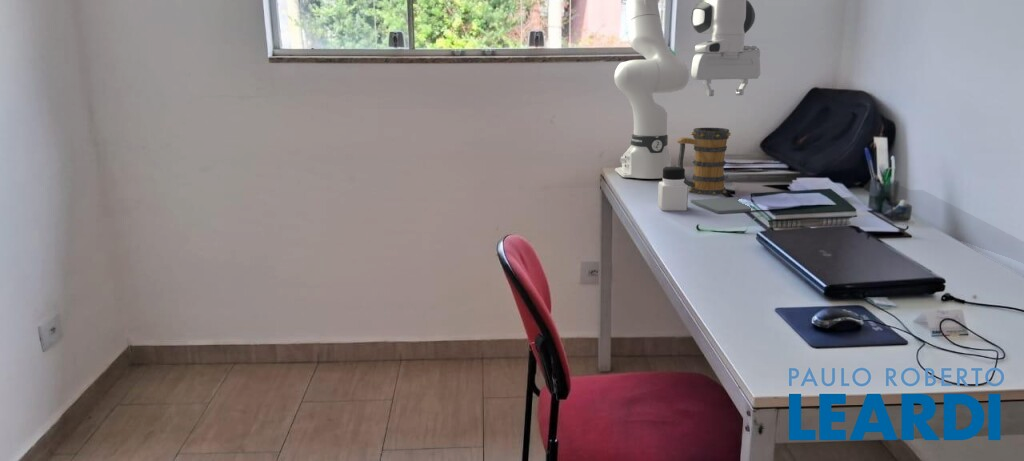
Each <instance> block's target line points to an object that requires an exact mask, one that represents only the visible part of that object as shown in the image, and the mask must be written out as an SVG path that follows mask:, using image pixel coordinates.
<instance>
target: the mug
mask: <svg viewBox="0 0 1024 461" xmlns="http://www.w3.org/2000/svg"><path fill="white" fill-rule="evenodd" d="M690 135H691V136H692V137H685V136H684V137H683V136H682V137H680V138H679V139H677V140H676V142H677V144H680V145H679V146H680V147H679V154H678V159H677V160H678V162H677V166H680V167H683V168H684V158H685V157H684V156H685V150H686V144H688V145H693V150H694V154H695V155H694V156H695V157H694V160H693V161H692V164H693V165H694V172H693V175H692V181H691V180H690V181H689V180H687V177H686V176H685V177H684V183H685V184H686V185H687V186H688V187H689V189H688V193H689V192H690V193H694V194H697V195H712V196H713V195H714V196H715V195H720V194H722V195H724V194H727V193H726V192H727V190H726V189H727V188H726V187H725V181H726V176H725V174H724V172H725V171H724V170H725V167H724V166H726V165H727V162H726V160H725V157H726V156H725V155H726V154H725V153H726V152H727V148H728V146H727V141H728V139H729V137H730V136H731V135H732V133H731V132H730V129H728V128H723V127H722V128H721V127H697V128H693V131H692V133H690Z"/></svg>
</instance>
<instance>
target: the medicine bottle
mask: <svg viewBox="0 0 1024 461" xmlns="http://www.w3.org/2000/svg"><path fill="white" fill-rule="evenodd" d="M685 173H686V170H685V168H684V166H683V167H680V166H678V165H671V166H667V167H664V168H663V178H662V181H659V182H658V186H657V187H658V188H657V189H658V190H657V192H658V193H657V206H658V208H660V210H661V211H663V212H665V211H666V212H669V211H671V212H673V211H674V212H675V211H679V212H680V211H681V212H683V211H685V212H686V211H688V198H689V196H688V195H689V186H687V185H686V184H685V183H684V177H685V178H686V174H685Z"/></svg>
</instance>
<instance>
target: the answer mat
mask: <svg viewBox="0 0 1024 461" xmlns="http://www.w3.org/2000/svg"><path fill="white" fill-rule="evenodd" d="M741 198H742V197H741V196H734V197H718V198H717V197H716V198H703V199H702V198H701V199H690V204H693V205H695V206H697V207H699V208H702V209H705V210H707V211H709V212H712V213H715V214H717V215H718V214H719V215H721V214H722V215H723V214H734V213H737V214H738V213H750V212H752V211H751V208H750V207H749V206H747V205H745V204H742V203H740V202H739V201H738V200H739V199H741Z"/></svg>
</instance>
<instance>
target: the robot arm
mask: <svg viewBox="0 0 1024 461" xmlns="http://www.w3.org/2000/svg"><path fill="white" fill-rule="evenodd" d="M659 1H660V0H626V24H627V29H628V39H629V44H630V46H631V49H633V50H634V51H635V52H637V53H638V54H640V55H642V56H643V57H644V58H645V59H631V60H626V61H623V62H620V63H619V64H618V65H617V67H616V69H615V70H614V74H613V78H614V84H615V86H616V88H617V89H618V90H619V91H620V92H621V93H622V94H623V95H624V96H625V97H626V98H627V100H628V101H629V103H630V105H631V108H632V114H633V115H632V116H633V117H632V118H633V134H632V135H631V138H630V146H629V147H628V148H627V150H626V151H625V152H624V153H623V154H622V156H620V158H619V162H620V163H621V166H620V167H615V170H614V171H615V172H616V173H618V175H620V176H621V177H623V178H633V179H634V178H635V179H649V180H651V179H652V180H654V179H663V168H664V167H667V166H672V159H671V150H670V149H668V147H667V146H668V141H669V137H668V134H667V132H668V131H667V129H668V112H667V111H666V109H665V108H664V107H663V106H662V105H659V104H658V103H656V102H655V101H654V97H653V94H659V93H661V94H662V93H663V94H664V93H673V92H677V91H681V90H684V89H685V87H687V85H688V82H689V81H690V75H691V78H692V79H693V80H696V81H702V85H703V86H704V88H705V90H706V91H705V94H706V95H705V96H706V97H713V96H714V95H715V94H714V93H715V90H714V89H712V86H711V85H710V84H712V81H713V80H714V81H715V80H739V83H740V85H739V86H738V88H736V89H735V95H736V96H743V95H744V91H745V89H746V86H747V85H748V84H749V80H752V79H753V80H754V79H755V80H756V79H759V77H760V76H761V50H760V48H759V47H757V45H745V38H746V37H745V34H746V33H747V32H748V31H749V30H750V29H751V28H752V27H753V25H754V23H755V20H756V13H755V9H754V6H753V5H752V3H751V2H750V1H749V0H700V1H699V2H698V3H697V4H696V5H695V6H694V7H693V9H692V12H691V25H692V27H693V29H694V30H695V32H697V33H698V34H703V35H711V39H709V40H707V41H704V42H700V43H698V44H696V45H695V46H694V52H695V54H694V56H693V58H692V61H691V62H692V63H691V72H690V69H689V67H688V64H686V63H685V61H683V60H681V59H680V58H678V57H677V56H676V55H675V53H673V52H672V50H671V49H670V47H669V45H668V44H667V42H666V40H665V36H664V32H663V27H662V26H663V25H662V21H661V14H660V10H659ZM690 73H691V74H690Z"/></svg>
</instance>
